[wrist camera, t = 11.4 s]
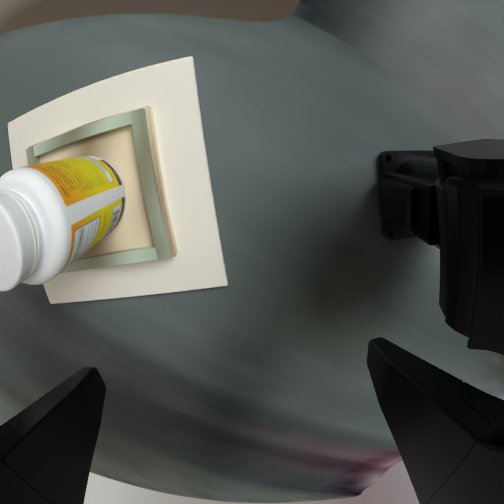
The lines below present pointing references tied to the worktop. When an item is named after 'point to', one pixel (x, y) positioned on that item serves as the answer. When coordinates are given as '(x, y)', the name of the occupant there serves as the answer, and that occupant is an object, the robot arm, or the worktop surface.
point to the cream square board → (173, 169)
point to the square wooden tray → (135, 182)
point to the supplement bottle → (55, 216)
